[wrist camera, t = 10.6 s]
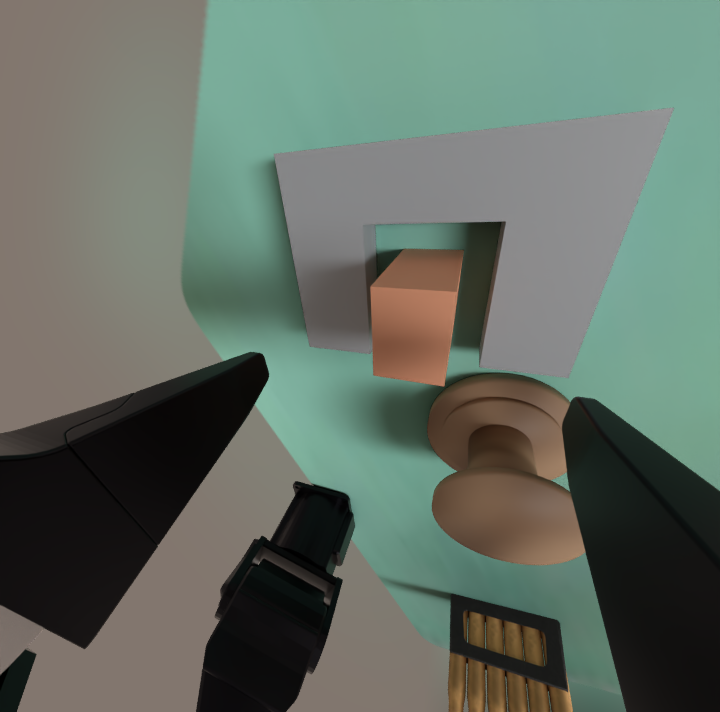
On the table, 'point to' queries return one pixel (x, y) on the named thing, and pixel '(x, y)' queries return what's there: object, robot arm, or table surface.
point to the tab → (415, 315)
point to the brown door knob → (504, 469)
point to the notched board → (475, 204)
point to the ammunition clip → (505, 659)
